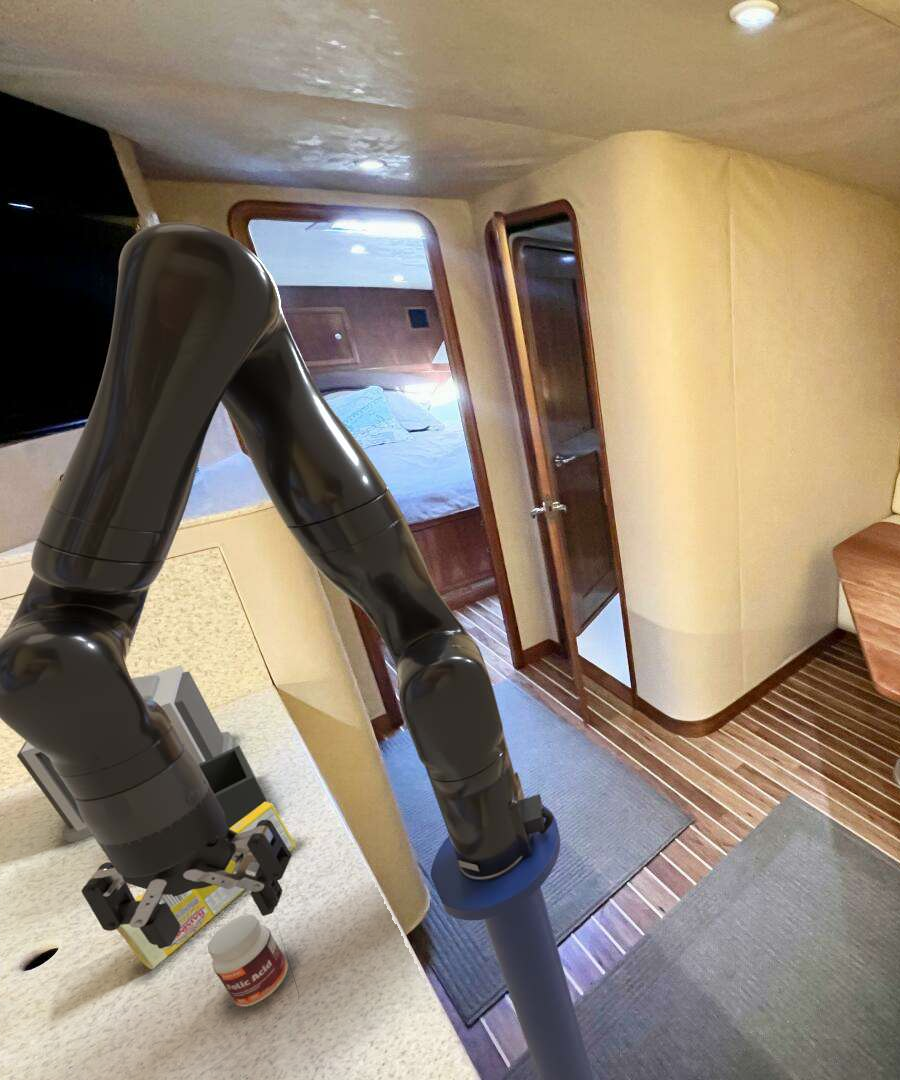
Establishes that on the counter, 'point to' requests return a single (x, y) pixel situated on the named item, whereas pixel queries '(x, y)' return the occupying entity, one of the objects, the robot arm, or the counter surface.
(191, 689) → the crt monitor
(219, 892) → the candy box
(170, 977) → the counter surface
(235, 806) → the open storage box
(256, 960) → the pill bottle
